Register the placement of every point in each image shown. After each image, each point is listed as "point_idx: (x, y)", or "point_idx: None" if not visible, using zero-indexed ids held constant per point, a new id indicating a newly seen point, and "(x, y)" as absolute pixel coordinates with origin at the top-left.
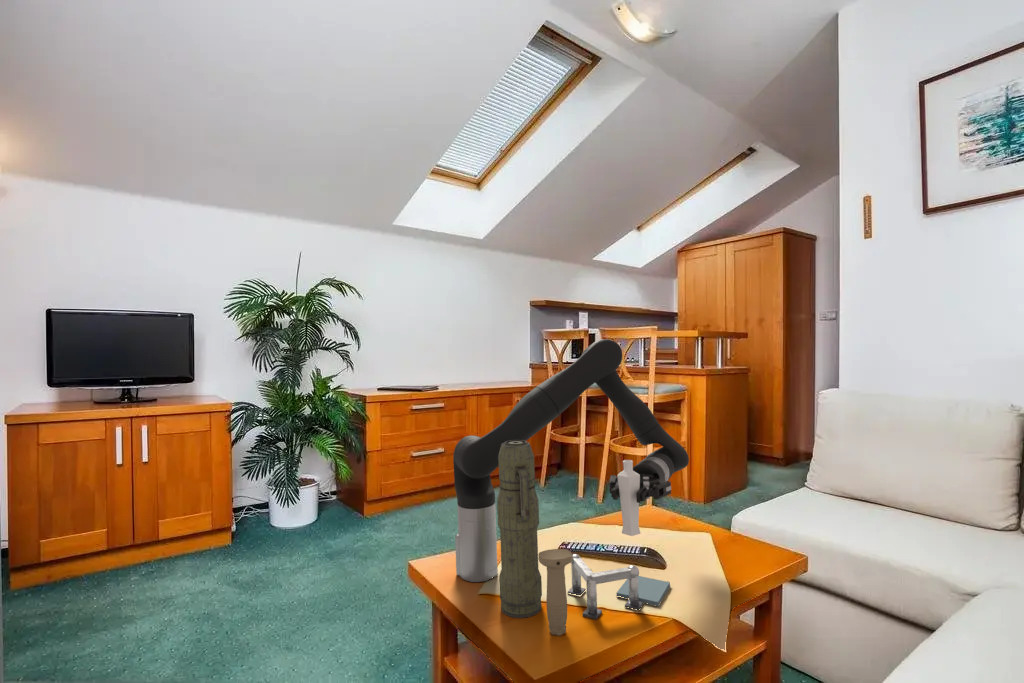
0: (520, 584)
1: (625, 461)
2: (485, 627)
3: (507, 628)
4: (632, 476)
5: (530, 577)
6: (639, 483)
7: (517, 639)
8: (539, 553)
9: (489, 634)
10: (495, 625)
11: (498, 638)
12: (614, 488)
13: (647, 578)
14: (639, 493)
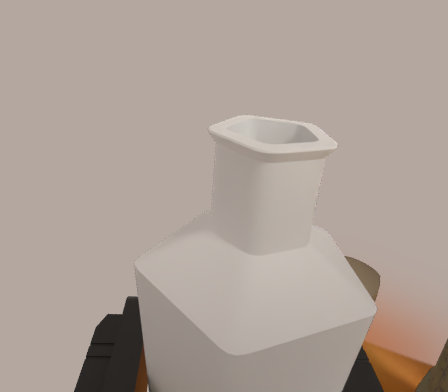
0: (430, 371)
1: (315, 156)
2: (420, 365)
3: (390, 379)
4: (190, 223)
5: (430, 383)
6: (143, 328)
7: None
8: (374, 271)
9: (394, 352)
10: (415, 377)
11: (373, 349)
12: None
13: None
14: (131, 297)
